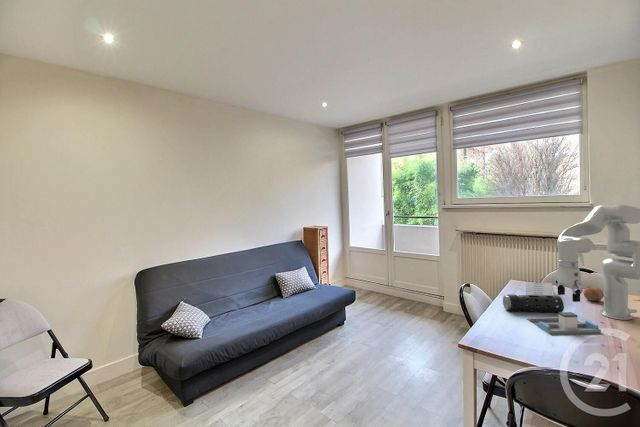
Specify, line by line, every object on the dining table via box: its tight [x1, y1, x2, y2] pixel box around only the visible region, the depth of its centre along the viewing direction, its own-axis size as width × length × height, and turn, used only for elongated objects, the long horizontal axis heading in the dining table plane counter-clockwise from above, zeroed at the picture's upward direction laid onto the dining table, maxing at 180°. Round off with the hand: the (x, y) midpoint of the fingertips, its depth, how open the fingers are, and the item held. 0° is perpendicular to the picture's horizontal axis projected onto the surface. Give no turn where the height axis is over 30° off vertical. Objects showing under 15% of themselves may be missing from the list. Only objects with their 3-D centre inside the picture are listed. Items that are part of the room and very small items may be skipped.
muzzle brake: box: [502, 294, 565, 313], centre depth 175 cm, size 10×28×10 cm, turn 78°
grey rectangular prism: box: [558, 311, 578, 329], centre depth 151 cm, size 6×4×8 cm, turn 87°
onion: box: [582, 285, 604, 303], centre depth 189 cm, size 10×9×10 cm
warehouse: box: [525, 282, 556, 296], centre depth 198 cm, size 30×14×8 cm, turn 145°
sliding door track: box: [526, 316, 605, 337], centre depth 154 cm, size 24×20×4 cm
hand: (568, 297), depth 150 cm, fingers open, 9 cm apart
